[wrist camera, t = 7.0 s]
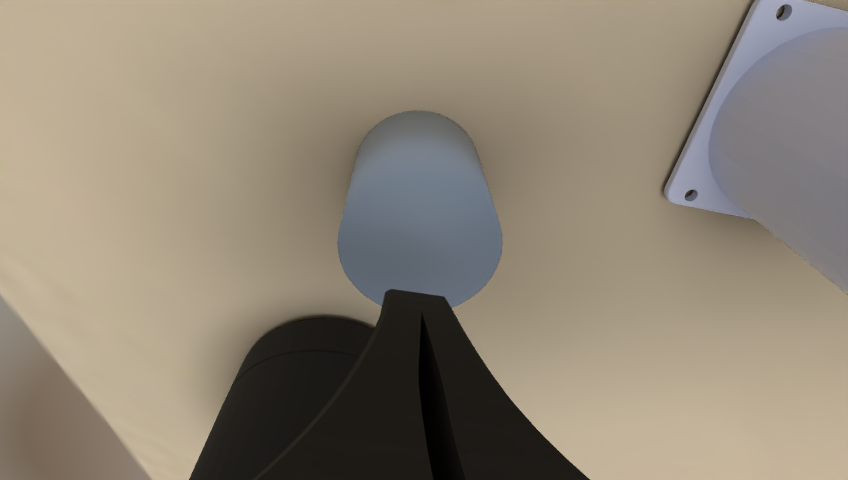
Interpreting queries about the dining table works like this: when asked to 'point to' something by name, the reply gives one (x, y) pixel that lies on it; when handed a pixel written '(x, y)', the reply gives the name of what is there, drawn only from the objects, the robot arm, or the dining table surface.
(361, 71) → the dining table surface
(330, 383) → the pen holder
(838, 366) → the dining table surface
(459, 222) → the slate cylinder
